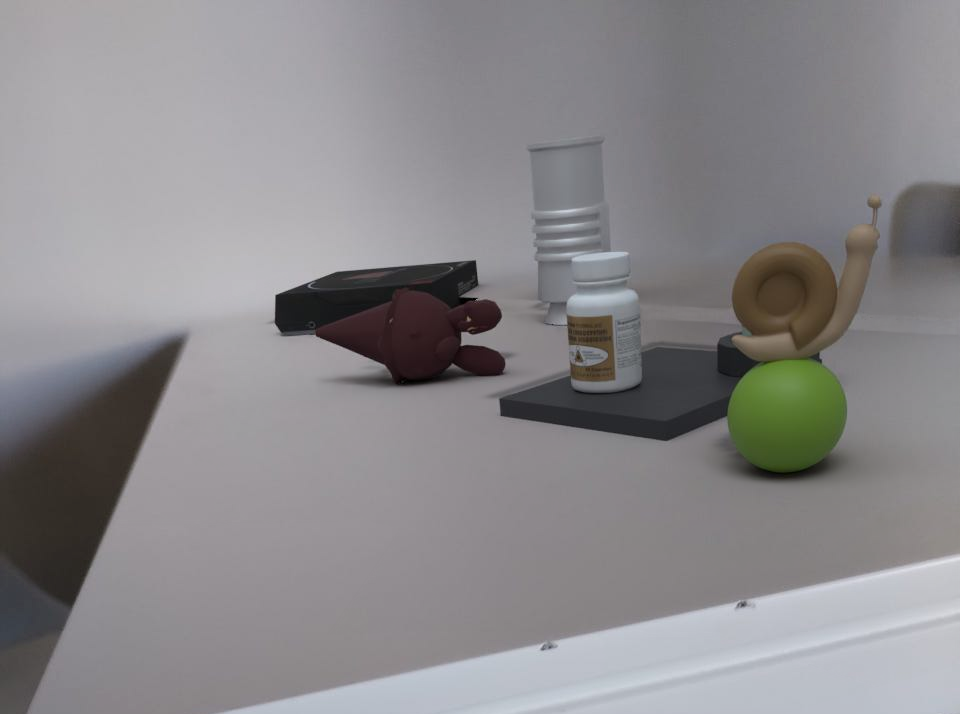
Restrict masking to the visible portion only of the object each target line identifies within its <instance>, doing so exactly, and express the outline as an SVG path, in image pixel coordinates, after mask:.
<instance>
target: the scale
mask: <svg viewBox="0 0 960 714" xmlns="http://www.w3.org/2000/svg"><path fill="white" fill-rule="evenodd" d="M736 335H742V331H737V332H733V333H730V334H727V335H724V336H721V337H720V338H719V339H718V341H717V344H716V345H717V350H707V349H706V350H705V349H693V348H679V347H665V346H656V347H652V348H650V349H646V350H643V351H641V360H642V380H641V382H640V384H639V385H637V386H635V387H633V388H631V389H628V390H624V391H620V392H613V393H586V392H580V391H577V390H575V389H574V388H573V387H572V384H571V374H570V375H566V376H564V377H561V378H558V379H554V380H551V381H548V382H545V383H541V384H539V385H536V386H532V387H530V388H527V389H523V390H521V391H517V392H513V393H512V394H509V395H506V396H502V397H499V399H498V401H499V411H500V417H505V418H511V419H512V418H513V419H518V420H523V421H531V422H535V423H544V424H550V425H557V426H562V427H570V428H577V429H583V430H588V431H589V430H590V431H597V432H603V433H610V434H617V435H623V436H630V437H635V438H643V439H648V440H654V441H655V440H656V441H661V442H662V441H663V442H668V441H671V440H673V439H675V438H678V437H680V436H683V435H685V434H688V433H690V432H693V431H696V430H697V429H699V428H702V427H705V426H707V425H709V424H712V423H714V422H717V421H719V420H721V419H723V418H726V417H727V413H728V406H729V402H730V398H731V396H732V393H733V391H734V389H735V387H736V386H737V384H738V383H739V381H740V380H741V379H742V377H743V376H744V375H745V374H746V373H747V372H748V371H750V370H751V369H752V368H753V367H755V366H756V365H758V364H759V363H761V362H760V361H756V360H753V359H751V358H749V357H748V356H746V355H745V354H744V353H743V352H741V351H740V350H739V349H738V348H737V347H736V346H735V345H734V344H733V342H732V337H733V336H736ZM820 357H821V351H820V352H818V353H817V354H815V355H813V356H811V357H809V358H811V359H813V360H816V361H818V362H820V363H821V364H823V359H822V358H820Z"/></svg>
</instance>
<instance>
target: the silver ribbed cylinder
mask: <svg viewBox="0 0 960 714" xmlns="http://www.w3.org/2000/svg"><path fill="white" fill-rule="evenodd" d="M605 138H606V137H605V134H602V135H601V134H600V135H590V136H582V137H573V138H572V137H571V138H564V139H556V140H548V141H547V140H546V141H539V142H532V143H526V145H525V146H526V147H525V148H526V150H527V151H528V152H529V159H530V160H529V161H530V172H531V173H530V174H531V187H532V198H533V199H532V200H533V210H532V211H531V213H530V219H531V220H534V224H533V226H532V227H531V232H532V234H535V238H534V239H533V241H532V246H533V247H535V248H536V250H537V251H535V253H534V254H533V258H534V259H533V260H534V261H536V262H537V299H538V301H540V302H541V303H547V304H548V303H549V306H548V309H547V313H546V316H545V318H544V323H545V324H547V323H548V324H547V325H552V324H553V325H554V326H567V308H566V306H567V302H568V300H569V298H570V297H571V296H573V295H574V294H576V293H577V285H575V284H573V281H574V279H573V278H572V263H571V261H572V258H574V257H577V256H581V255H587V254H595V253H604V252H612V247H611V228H610V226H611V225H610V206H609V204H608V203H607V202H605V201H606V200H605V181H604V162H603V161H604V160H603V143H604V142H605Z"/></svg>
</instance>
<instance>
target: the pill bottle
mask: <svg viewBox="0 0 960 714" xmlns="http://www.w3.org/2000/svg"><path fill="white" fill-rule="evenodd" d="M571 263H572V278H573V279H574V281H573V284H575V285H577V293H576V294H574V295H573V296H571V297H570V298H569V300H568V302H567V306H566V308H567V325H566V327H567V328H566V329H567V340H568V352H569V353H568V355H569V366H570V367H569V368H570V375H571V384H572V387H573V388H574V389H575V390H577V391H580V392H586V393H613V392H620V391H624V390H628V389H631V388H633V387H635V386H637V385H639V384H640V382H641V380H642V360H641V352H642V334H641V333H642V331H641V307H640V297H639V295H638V292H636V291H635V290H633V289H632V288H628V282H627V281H628V280H630V279H631V276H630V273H632V270H631V257H630V253H629V252H627V251H611V252H604V253H595V254H587V255H581V256H577V257H574V258H572V261H571Z"/></svg>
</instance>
